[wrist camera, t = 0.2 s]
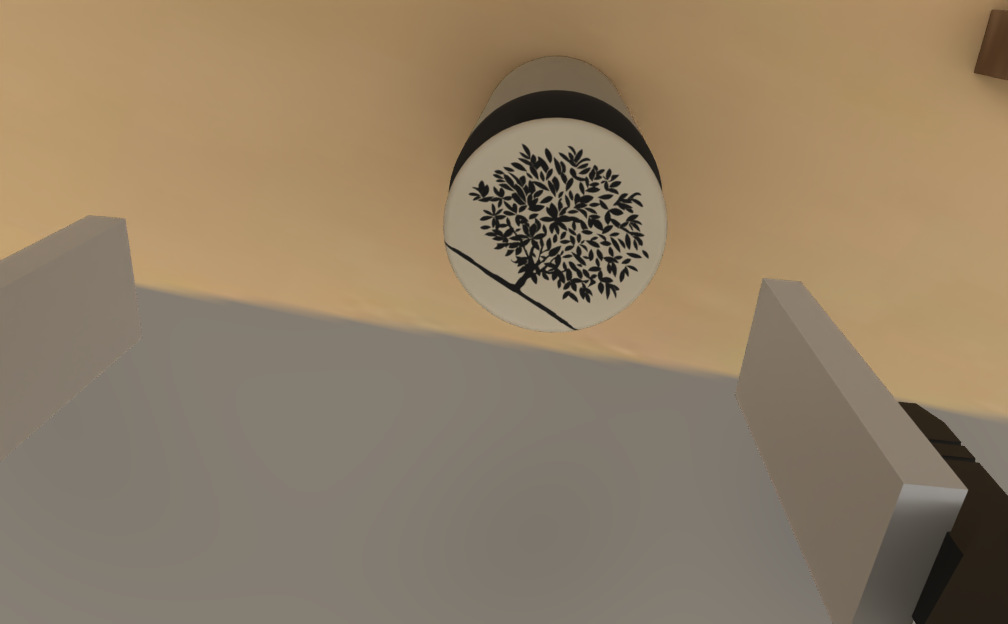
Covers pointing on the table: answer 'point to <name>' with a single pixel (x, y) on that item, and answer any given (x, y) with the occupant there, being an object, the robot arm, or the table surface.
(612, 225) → the travel mug
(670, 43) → the table surface
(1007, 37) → the header dock
